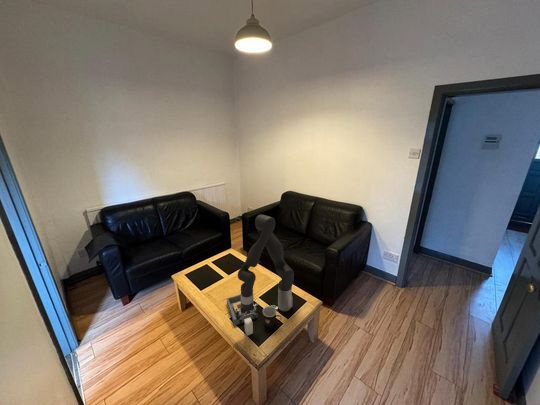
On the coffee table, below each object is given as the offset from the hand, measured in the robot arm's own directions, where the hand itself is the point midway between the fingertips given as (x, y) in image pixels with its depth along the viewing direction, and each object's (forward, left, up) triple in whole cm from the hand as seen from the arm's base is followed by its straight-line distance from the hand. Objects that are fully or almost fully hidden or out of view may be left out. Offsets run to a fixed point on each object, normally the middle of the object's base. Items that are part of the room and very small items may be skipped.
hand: (247, 320), depth 134 cm
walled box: (-1, -18, -9) cm, 20 cm away
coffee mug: (-15, +1, -9) cm, 18 cm away
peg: (0, 0, -9) cm, 9 cm away
